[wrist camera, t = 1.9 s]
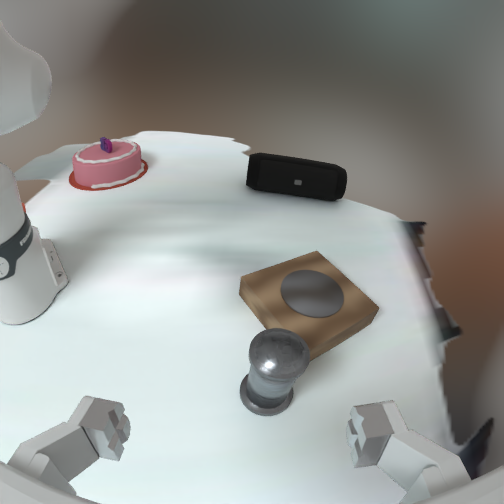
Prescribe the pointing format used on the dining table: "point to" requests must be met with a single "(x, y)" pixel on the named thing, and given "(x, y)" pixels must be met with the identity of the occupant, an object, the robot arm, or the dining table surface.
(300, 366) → the cylinder
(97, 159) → the cake
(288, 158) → the portable speaker
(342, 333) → the stand
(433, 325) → the dining table surface
